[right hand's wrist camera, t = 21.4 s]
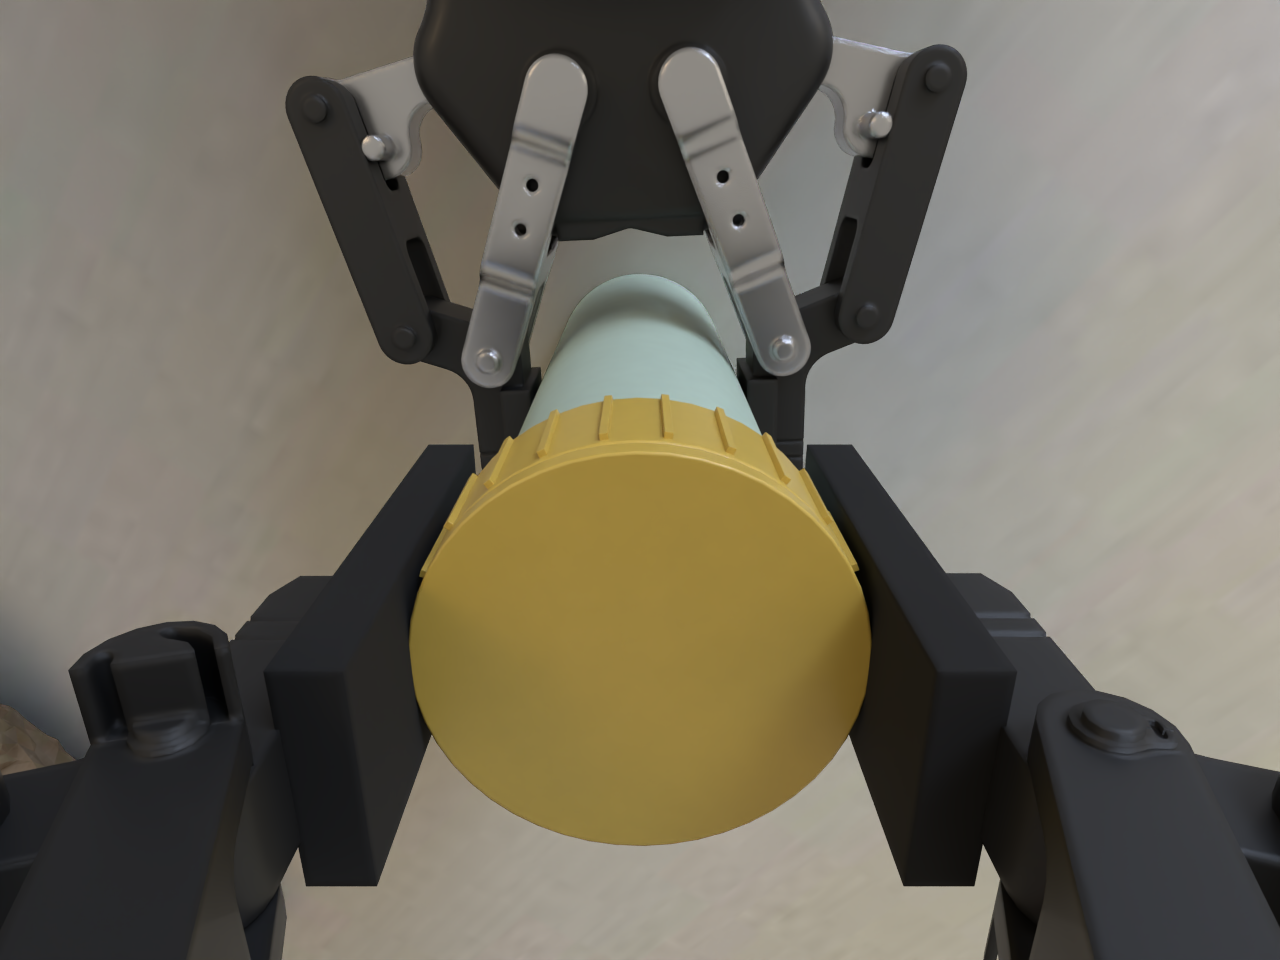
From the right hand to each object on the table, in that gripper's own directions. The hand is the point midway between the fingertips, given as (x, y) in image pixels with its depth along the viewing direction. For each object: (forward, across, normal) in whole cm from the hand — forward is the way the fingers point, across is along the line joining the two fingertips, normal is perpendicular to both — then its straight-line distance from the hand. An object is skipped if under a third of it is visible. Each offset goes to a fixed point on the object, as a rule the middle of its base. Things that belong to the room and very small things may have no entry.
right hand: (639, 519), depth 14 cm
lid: (-4, 0, 0) cm, 4 cm away
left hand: (+6, 0, -3) cm, 7 cm away
